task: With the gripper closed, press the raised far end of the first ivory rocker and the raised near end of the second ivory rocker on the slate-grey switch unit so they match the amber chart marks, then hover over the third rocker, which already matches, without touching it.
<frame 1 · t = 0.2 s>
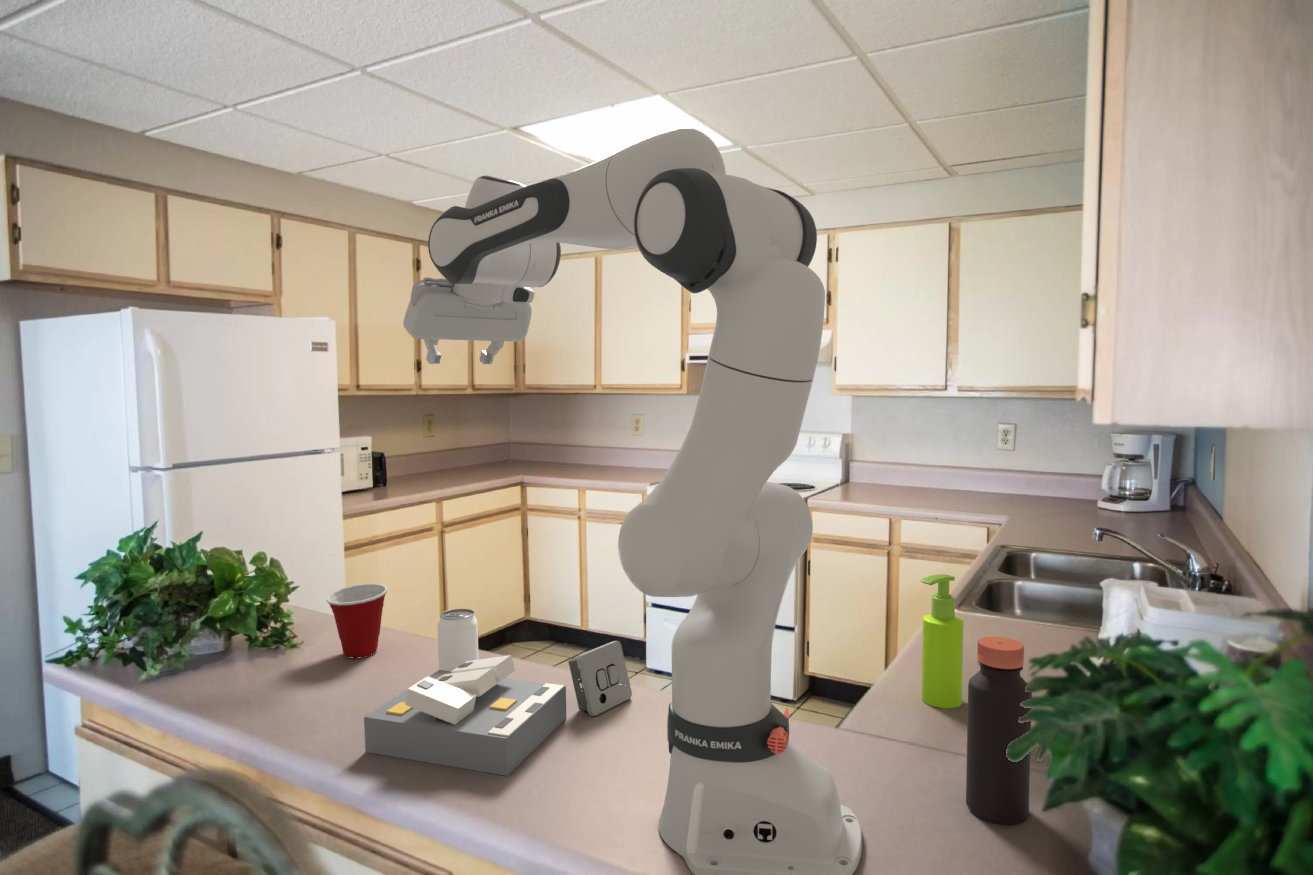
hand: (459, 362, 124), 54 cm above the countertop, tool tilted 30°, fingers open, 8 cm apart
rocker a: (441, 699, 106), point 7 cm above the countertop, hinge at -13.0°
electrical switch: (600, 705, 122), on the countertop
can: (459, 684, 131), on the countertop
plastic cup: (359, 654, 145), on the countertop
bottle: (996, 811, 91), on the countertop
rocker b: (462, 684, 112), point 7 cm above the countertop, hinge at 13.0°
soap dispenser: (939, 702, 121), on the countertop
rocker c: (482, 670, 117), point 7 cm above the countertop, hinge at 13.0°
switch unit: (470, 733, 112), on the countertop
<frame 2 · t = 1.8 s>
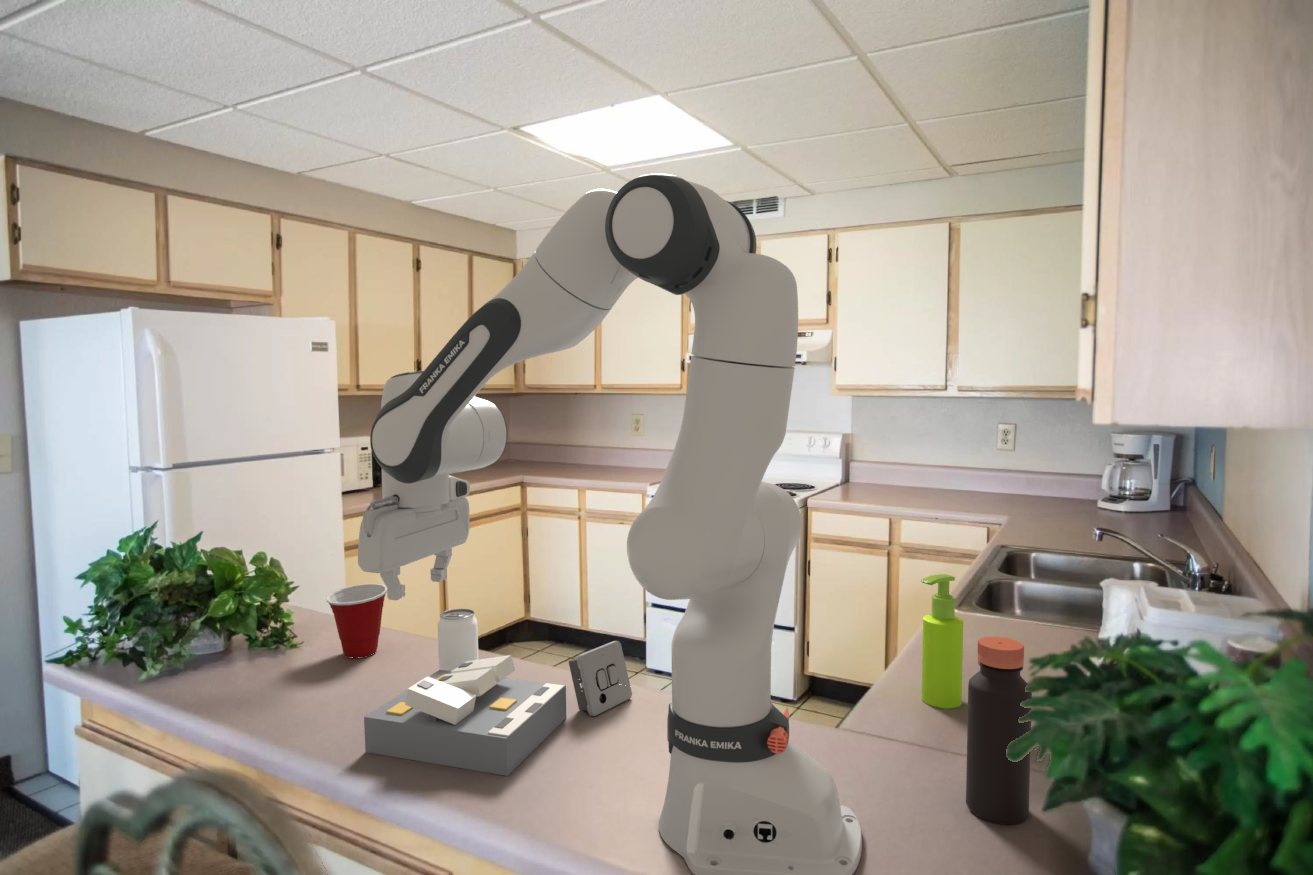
hand: (418, 589, 107), 22 cm above the countertop, tool pointing down, fingers open, 8 cm apart
nothing on the countertop moved.
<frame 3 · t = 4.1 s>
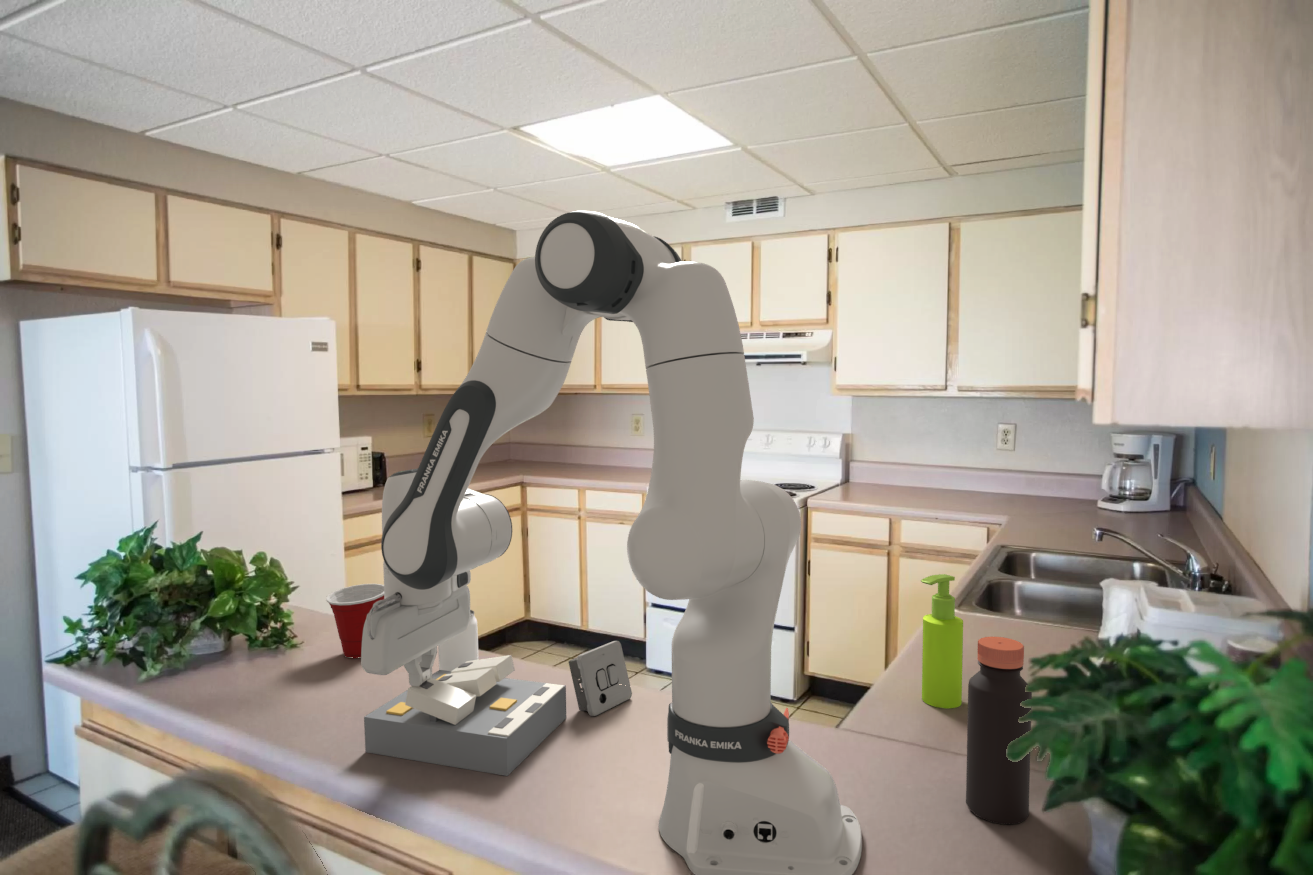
hand: (420, 682, 107), 9 cm above the countertop, tool pointing down, fingers closed, pressing on rocker a
rocker a: (441, 699, 106), point 7 cm above the countertop, hinge at -13.0°, touching gripper
everything else where it was.
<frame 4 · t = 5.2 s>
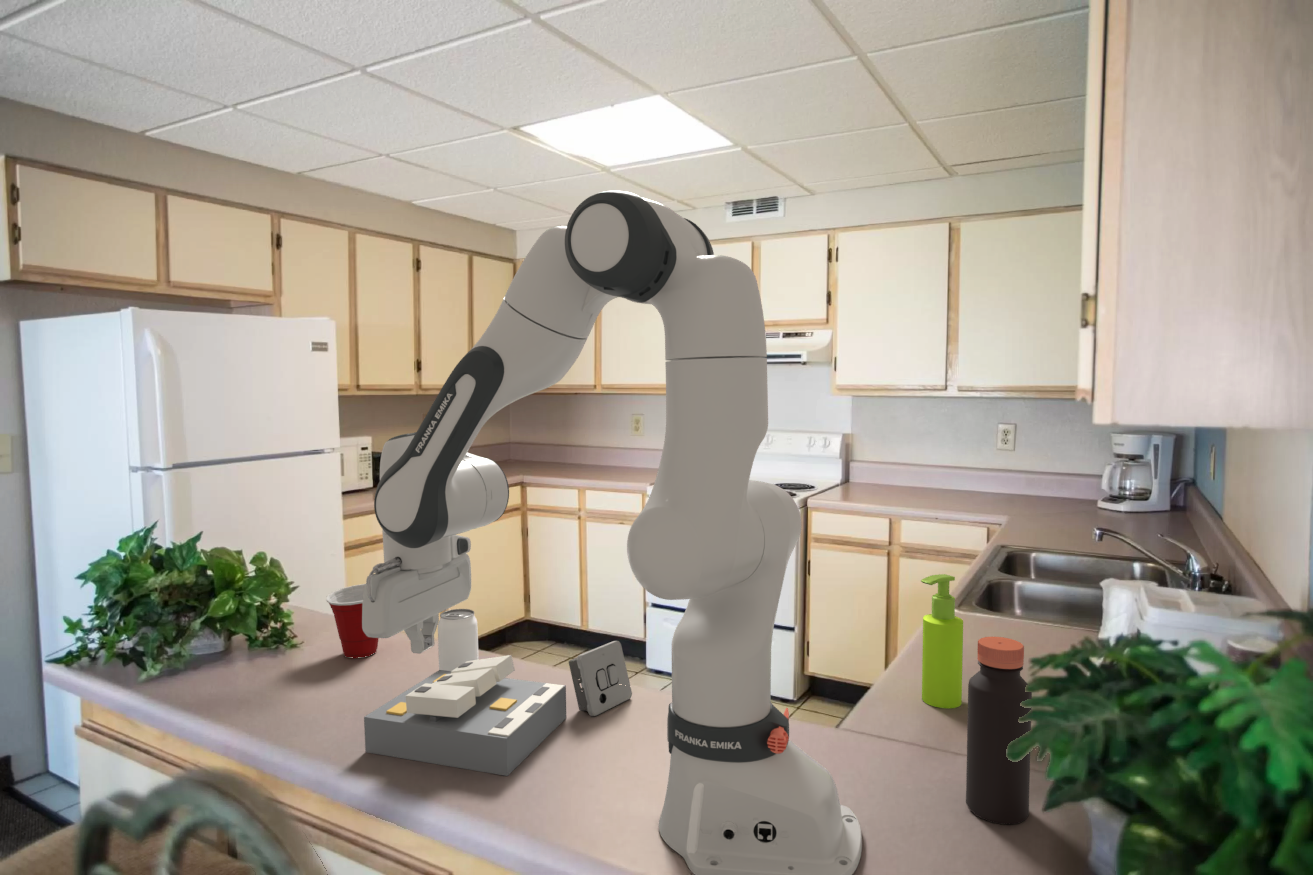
hand: (423, 649, 107), 14 cm above the countertop, tool pointing down, fingers closed
rocker a: (440, 699, 106), point 7 cm above the countertop, hinge at 2.6°
everything else where it was.
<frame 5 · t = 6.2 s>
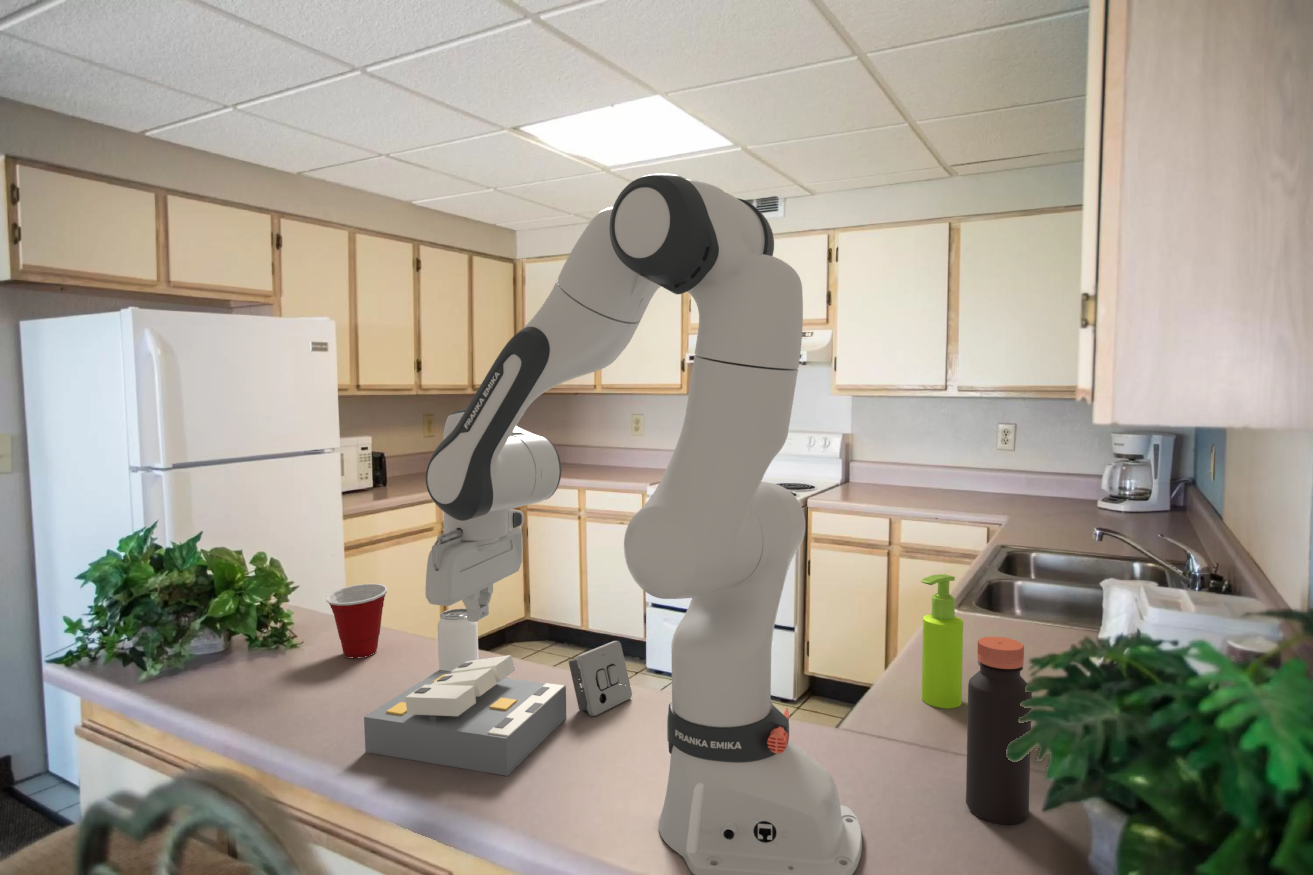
hand: (478, 618, 110), 17 cm above the countertop, tool pointing down, fingers closed
rocker a: (440, 699, 106), point 7 cm above the countertop, hinge at 5.4°
everything else where it was.
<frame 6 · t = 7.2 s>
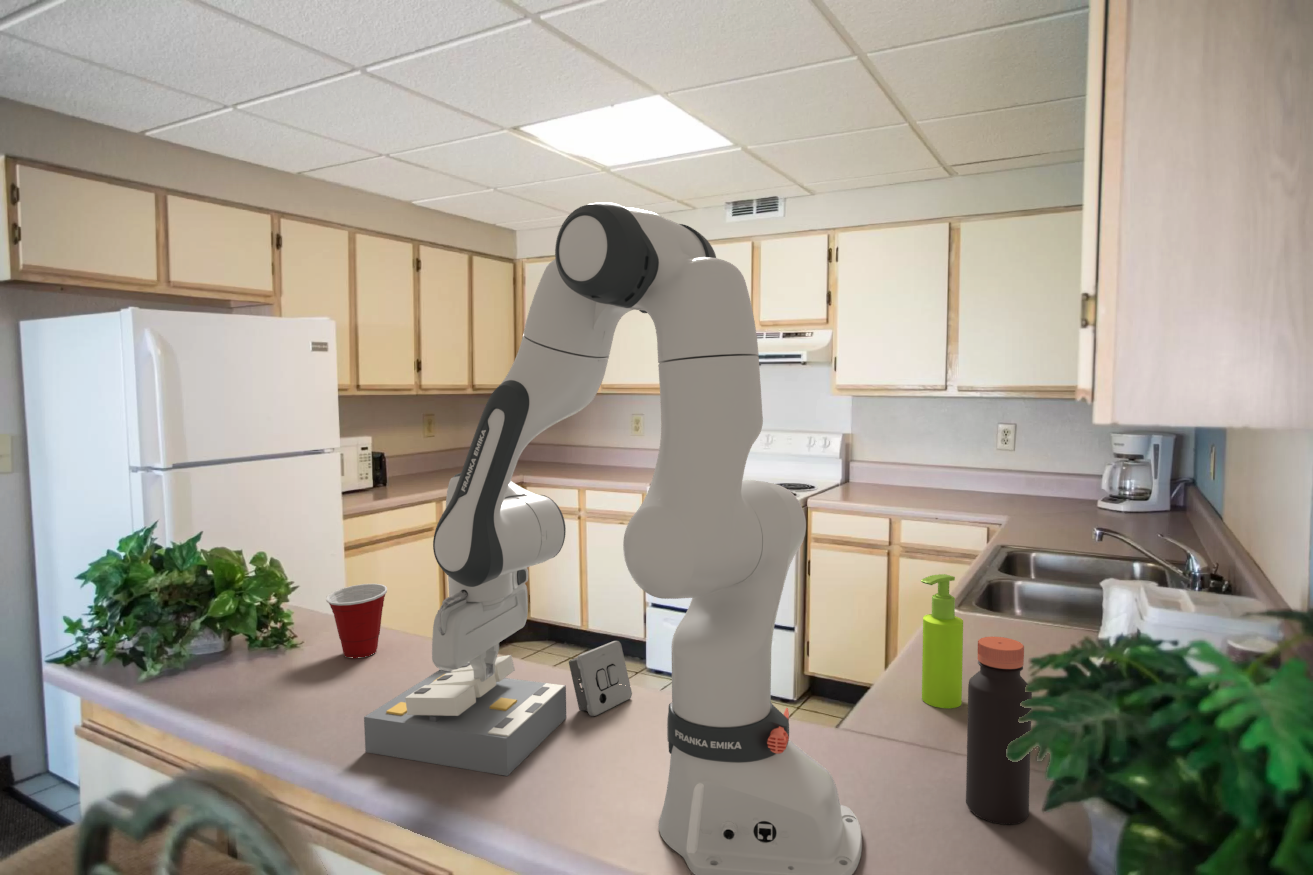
hand: (484, 677, 110), 9 cm above the countertop, tool pointing down, fingers closed, pressing on rocker b
rocker a: (440, 699, 106), point 7 cm above the countertop, hinge at 6.4°
rocker b: (462, 684, 112), point 7 cm above the countertop, hinge at 10.8°, touching gripper
everything else where it was.
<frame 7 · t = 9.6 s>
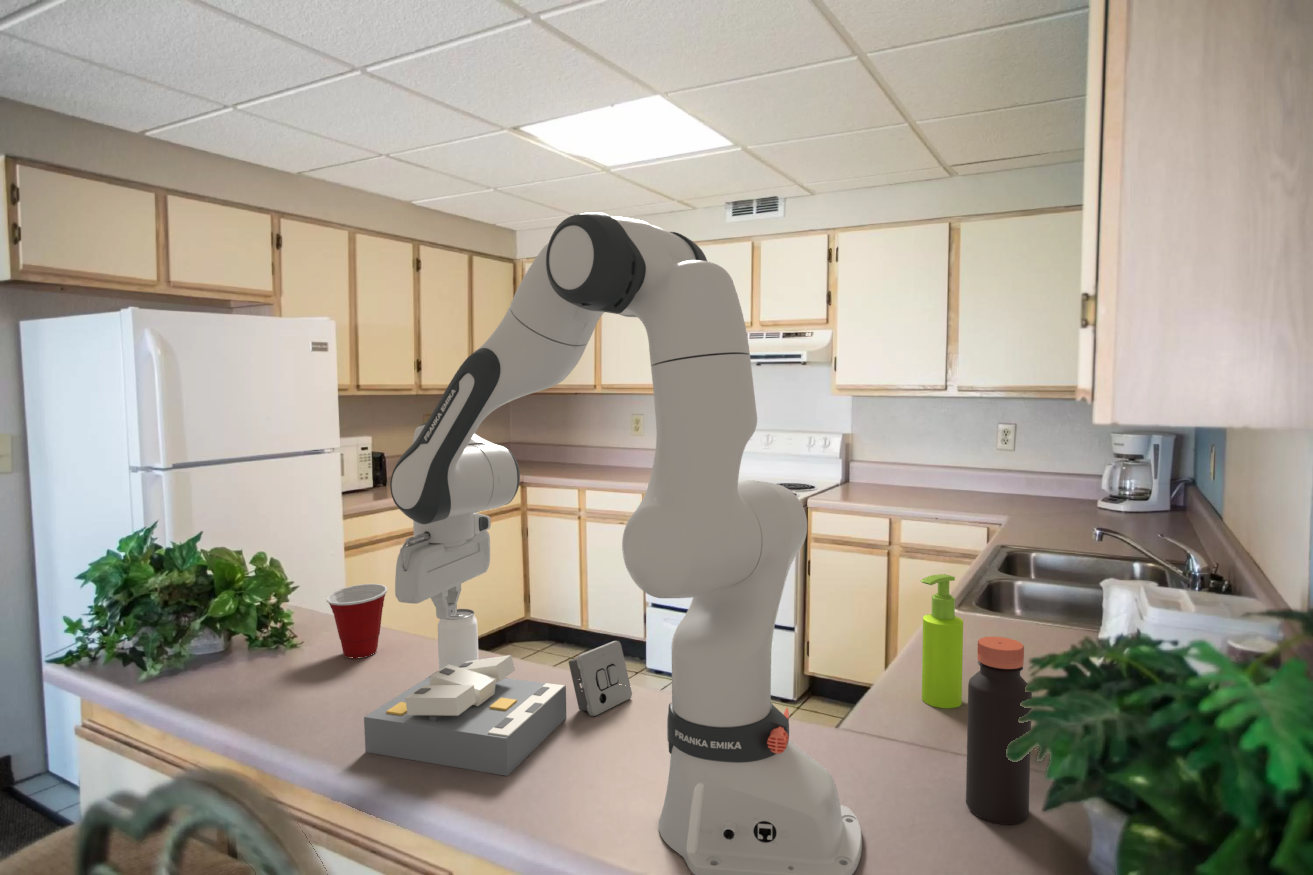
hand: (446, 616, 118), 15 cm above the countertop, tool pointing down, fingers closed
rocker a: (440, 699, 106), point 7 cm above the countertop, hinge at 6.9°
rocker b: (463, 684, 112), point 7 cm above the countertop, hinge at -8.7°
everything else where it was.
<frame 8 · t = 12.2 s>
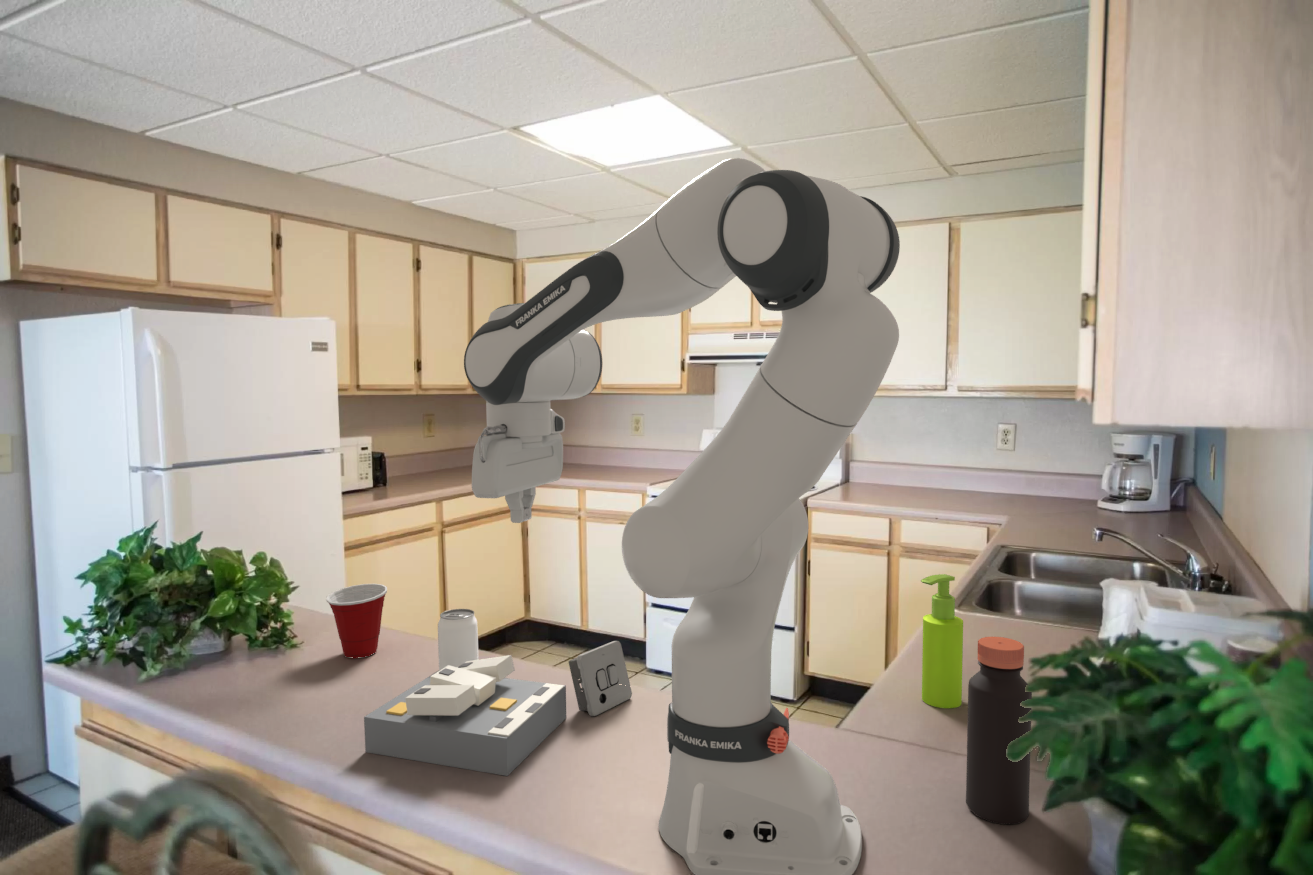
hand: (521, 521, 109), 31 cm above the countertop, tool pointing down, fingers closed
rocker b: (463, 684, 112), point 7 cm above the countertop, hinge at -7.1°
everything else where it was.
at the end: rocker a at +7° (first picture: -13°); rocker b at -7° (first picture: +13°); rocker c at +13° (first picture: +13°) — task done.
